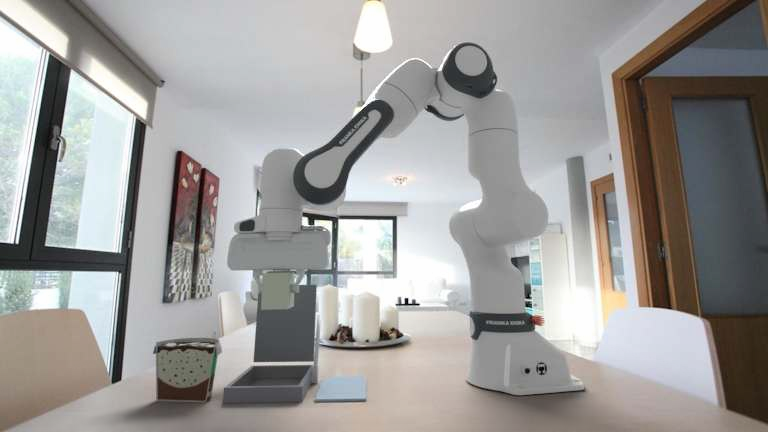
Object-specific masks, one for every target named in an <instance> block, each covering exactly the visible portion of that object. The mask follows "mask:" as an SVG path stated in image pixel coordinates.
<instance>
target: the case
mask: <svg viewBox="0 0 768 432" xmlns="http://www.w3.org/2000/svg"><path fill="white" fill-rule="evenodd" d="M321 326H322V314H318V315H317V320H316V330H315V347H314V362H313V364H292V365H291V364H288V365H287V364H282V365H280V364H279V365H277V364H276V365H275V364H274V365H270V364H267V365H251V366H249V367H248V368H247V369H246V370H244V371H243V372H242V373H241V374H239V375H238V376H237V377H235V379H233V380H232V381H230V383H228V384H227V385H226V386H224V387H223V394H222V395H223V396H222V398H223V399H222V404H235V403H236V404H239V403H240V404H241V403H242V404H243V403H244V404H245V403H246V404H249V403H252V404H253V403H295V402H296V403H297V402H299V403H302V402H303V401H304V398H305V397H306V395H307V393H308V391H309V388H310V386H311V384H318V382H319V365H318V364H319V363H318V362H319V351H320V349H319V348H320V340H321V339H320V337H321ZM255 379H257V380H258V379H259V380H260V379H261V380H263V379H301V381H300V383H299V384H298V385H297V384H296V385H295V384H294V385H293V384H292V385H249V384H250V383H251V382H252V381H254V380H255Z"/></svg>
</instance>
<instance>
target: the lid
mask: <svg viewBox="0 0 768 432" xmlns="http://www.w3.org/2000/svg"><path fill="white" fill-rule="evenodd" d="M317 287H318V285H317V284H299V293H294V306H293V307H291V308H289V309H271V310H261V297H262V293H258V292H257V307H256V322H255V334H254V335H255V336H254V349H253V363H291V362H292V363H294V362H295V363H297V362H298V363H299V362H300V363H302V362H303V363H304V362H305V363H307V362H309V363H311V362H313V363H314V356H315V344H316V317H317V316H316V313H317V312H316V311H317Z"/></svg>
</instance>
